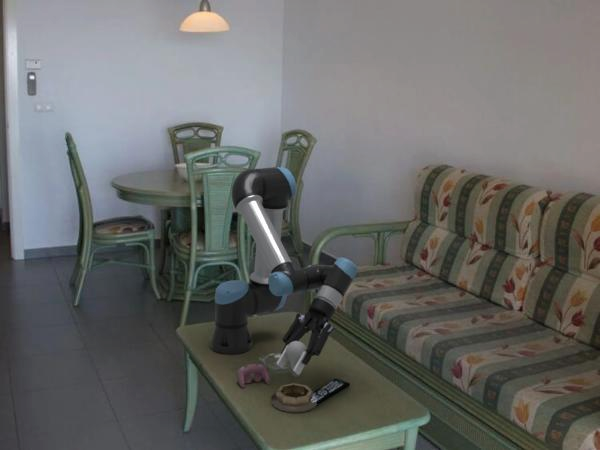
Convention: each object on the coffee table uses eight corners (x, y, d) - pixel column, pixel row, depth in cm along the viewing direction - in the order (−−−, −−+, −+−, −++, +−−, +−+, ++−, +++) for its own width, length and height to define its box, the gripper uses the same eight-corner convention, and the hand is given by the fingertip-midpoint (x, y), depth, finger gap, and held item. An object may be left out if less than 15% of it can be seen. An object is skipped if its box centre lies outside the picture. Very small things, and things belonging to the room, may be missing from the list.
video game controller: (266, 384, 223) (264, 362, 224) (271, 383, 219) (268, 361, 220) (237, 388, 219) (234, 366, 221) (241, 388, 215) (238, 365, 217)
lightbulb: (303, 381, 203) (304, 346, 200) (283, 379, 204) (284, 344, 201) (307, 373, 208) (308, 338, 206) (288, 371, 210) (288, 337, 207)
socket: (263, 396, 211) (263, 386, 210) (304, 388, 217) (304, 377, 217) (283, 416, 199) (284, 405, 198) (326, 407, 205) (326, 396, 204)
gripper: (354, 317, 207) (317, 384, 199) (307, 303, 220) (270, 365, 211) (344, 304, 202) (305, 373, 194) (296, 290, 215) (258, 354, 206)
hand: (287, 369), depth 203 cm, fingers closed on lightbulb, 6 cm apart
